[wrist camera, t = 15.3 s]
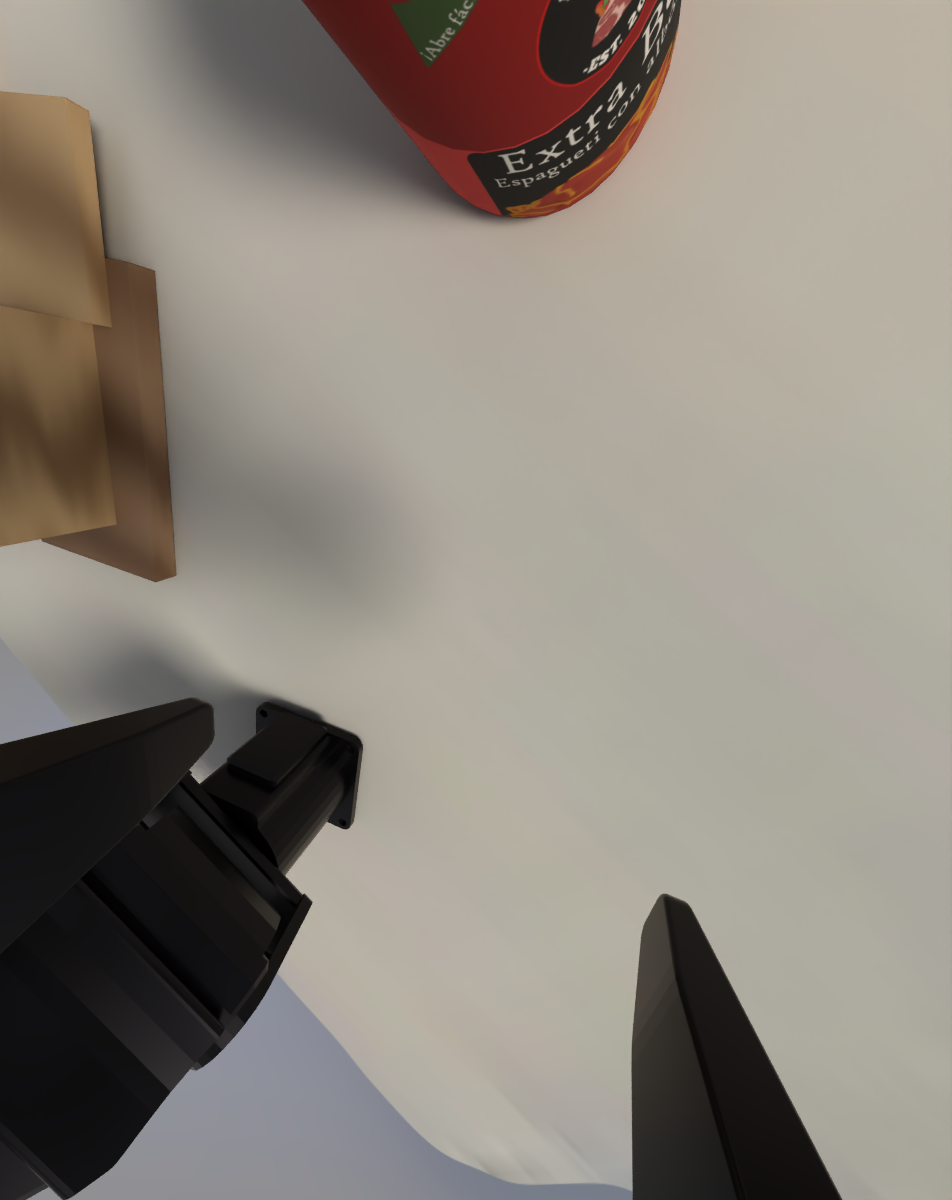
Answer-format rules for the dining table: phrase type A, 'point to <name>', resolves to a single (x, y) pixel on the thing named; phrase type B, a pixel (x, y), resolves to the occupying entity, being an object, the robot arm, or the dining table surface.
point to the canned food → (512, 87)
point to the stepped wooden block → (50, 323)
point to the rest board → (132, 433)
